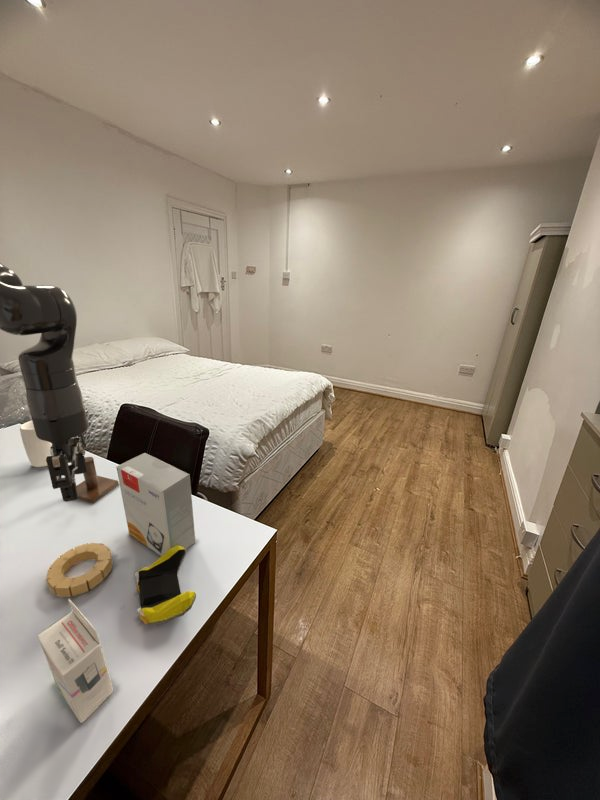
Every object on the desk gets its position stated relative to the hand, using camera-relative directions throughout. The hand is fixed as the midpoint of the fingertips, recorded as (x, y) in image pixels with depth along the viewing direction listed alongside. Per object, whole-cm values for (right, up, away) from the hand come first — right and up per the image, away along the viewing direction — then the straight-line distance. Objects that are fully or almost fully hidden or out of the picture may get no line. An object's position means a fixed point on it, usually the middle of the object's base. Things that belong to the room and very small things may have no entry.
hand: (76, 485), depth 61 cm
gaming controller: (+16, -23, +3) cm, 28 cm away
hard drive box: (+9, -18, +17) cm, 26 cm away
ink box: (+9, -29, -11) cm, 32 cm away
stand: (-17, -10, +32) cm, 37 cm away
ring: (-4, -20, +7) cm, 22 cm away
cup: (-39, -4, +43) cm, 58 cm away
